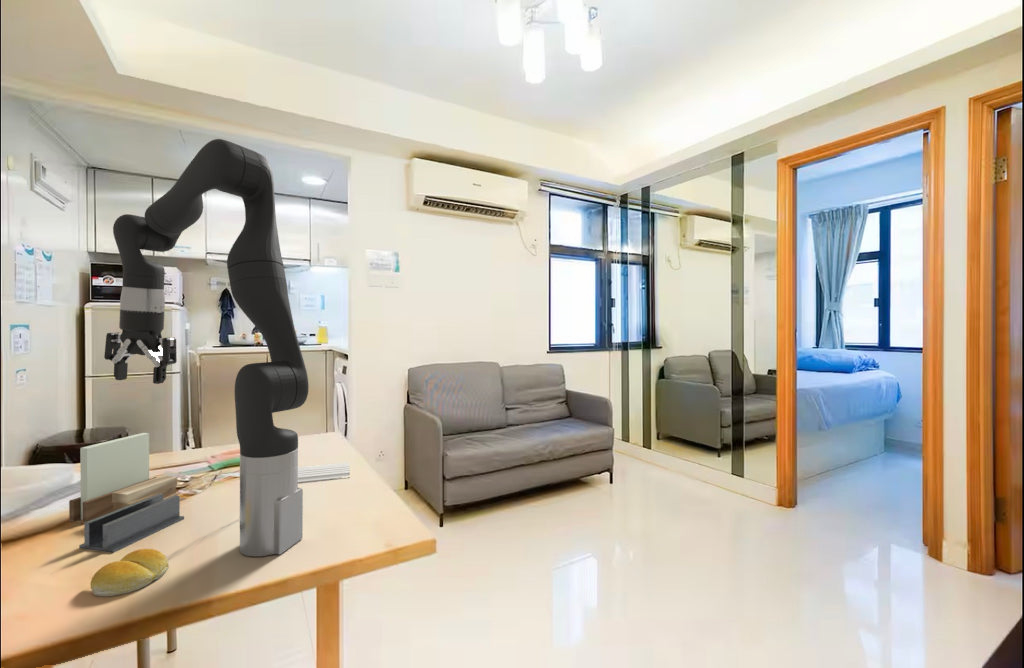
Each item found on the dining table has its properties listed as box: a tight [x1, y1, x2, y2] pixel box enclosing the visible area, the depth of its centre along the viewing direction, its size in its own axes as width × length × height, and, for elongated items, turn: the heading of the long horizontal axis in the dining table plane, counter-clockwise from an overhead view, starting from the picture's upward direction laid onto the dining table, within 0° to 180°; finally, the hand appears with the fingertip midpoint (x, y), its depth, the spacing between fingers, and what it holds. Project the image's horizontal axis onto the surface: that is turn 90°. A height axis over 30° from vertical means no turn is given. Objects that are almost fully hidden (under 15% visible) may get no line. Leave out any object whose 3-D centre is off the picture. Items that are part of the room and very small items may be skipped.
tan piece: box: [112, 474, 178, 511], centre depth 89 cm, size 4×10×5 cm, turn 170°
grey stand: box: [78, 494, 185, 554], centre depth 80 cm, size 7×13×6 cm, turn 170°
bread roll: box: [89, 548, 170, 597], centre depth 68 cm, size 8×9×4 cm
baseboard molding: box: [209, 462, 351, 486], centre depth 113 cm, size 31×3×12 cm
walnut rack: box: [68, 476, 187, 524], centre depth 90 cm, size 12×14×6 cm
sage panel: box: [79, 432, 150, 520], centre depth 90 cm, size 2×12×14 cm, turn 170°
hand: (139, 381), depth 97 cm, fingers open, 8 cm apart
